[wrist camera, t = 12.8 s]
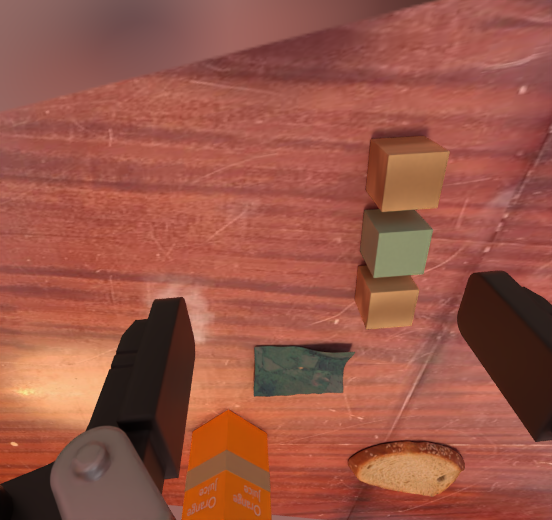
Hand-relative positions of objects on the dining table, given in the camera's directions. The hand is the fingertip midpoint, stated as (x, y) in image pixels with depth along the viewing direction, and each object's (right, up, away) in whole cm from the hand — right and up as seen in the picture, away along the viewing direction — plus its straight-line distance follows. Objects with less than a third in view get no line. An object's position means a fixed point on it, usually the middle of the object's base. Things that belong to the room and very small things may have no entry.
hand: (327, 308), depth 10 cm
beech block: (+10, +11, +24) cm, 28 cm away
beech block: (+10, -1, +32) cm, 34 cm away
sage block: (+10, +5, +28) cm, 30 cm away
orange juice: (-9, -25, +46) cm, 53 cm away
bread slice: (+22, -35, +55) cm, 68 cm away
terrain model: (+2, -13, +39) cm, 41 cm away
